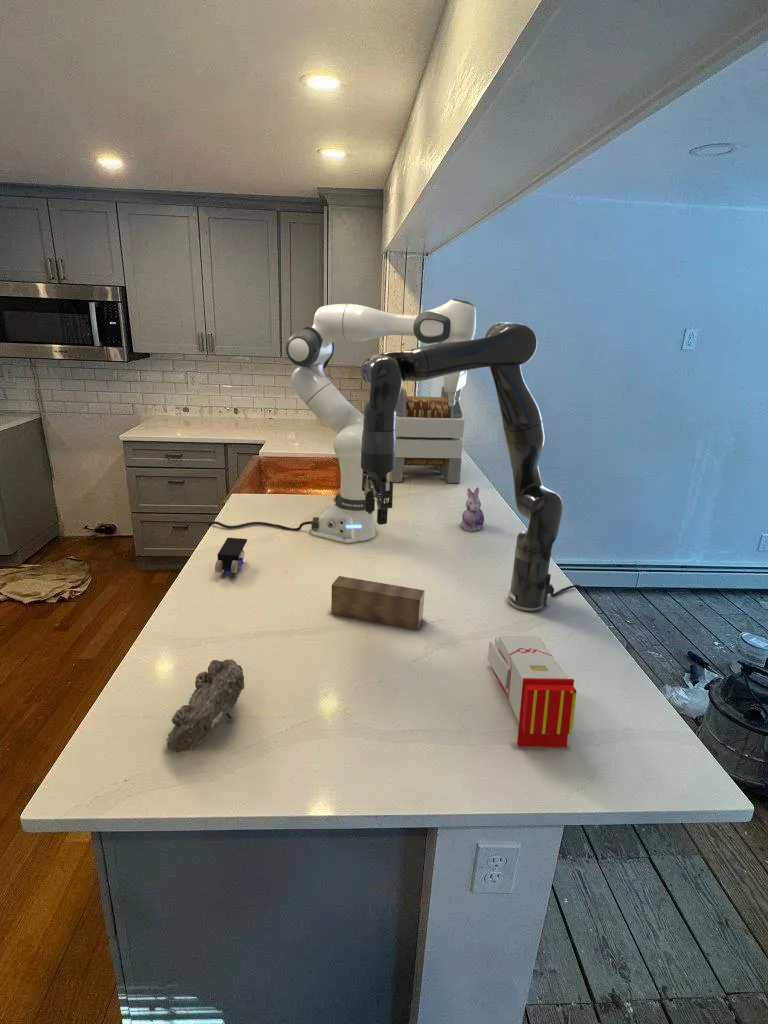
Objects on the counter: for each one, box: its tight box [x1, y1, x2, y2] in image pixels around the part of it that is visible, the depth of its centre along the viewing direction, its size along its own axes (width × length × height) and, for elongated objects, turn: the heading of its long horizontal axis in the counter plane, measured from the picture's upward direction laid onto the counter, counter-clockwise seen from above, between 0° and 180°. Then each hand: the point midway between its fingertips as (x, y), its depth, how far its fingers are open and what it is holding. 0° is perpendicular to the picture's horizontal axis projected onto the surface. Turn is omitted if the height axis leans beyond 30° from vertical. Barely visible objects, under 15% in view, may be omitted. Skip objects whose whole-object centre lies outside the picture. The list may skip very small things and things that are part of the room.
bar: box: [330, 575, 425, 630], centre depth 145 cm, size 23×6×8 cm, turn 74°
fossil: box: [166, 658, 245, 754], centre depth 106 cm, size 22×10×15 cm
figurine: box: [461, 486, 485, 532], centre depth 206 cm, size 9×10×15 cm
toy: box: [486, 635, 577, 748], centre depth 115 cm, size 12×13×30 cm
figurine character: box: [214, 537, 248, 578], centre depth 166 cm, size 7×8×15 cm
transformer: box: [388, 386, 465, 484], centre depth 268 cm, size 34×33×41 cm
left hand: (454, 403), depth 174 cm, fingers open, 8 cm apart
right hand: (375, 517), depth 131 cm, fingers open, 8 cm apart
